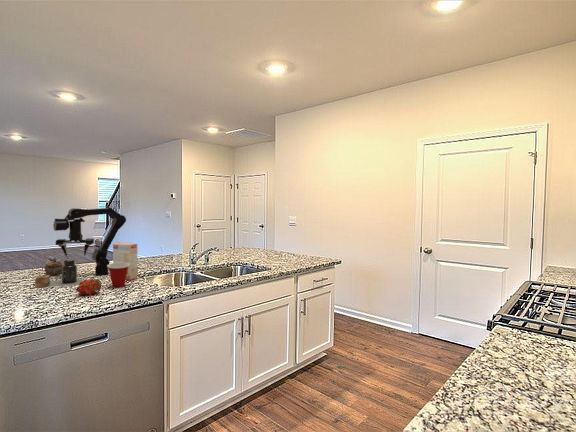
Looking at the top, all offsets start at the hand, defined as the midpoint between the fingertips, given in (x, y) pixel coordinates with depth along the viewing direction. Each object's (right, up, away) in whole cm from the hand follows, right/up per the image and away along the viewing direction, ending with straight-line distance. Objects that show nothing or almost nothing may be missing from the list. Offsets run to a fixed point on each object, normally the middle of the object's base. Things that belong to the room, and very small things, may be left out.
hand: (75, 256), depth 198 cm
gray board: (+2, -14, -16) cm, 22 cm away
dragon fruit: (+27, -15, -32) cm, 45 cm away
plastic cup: (+33, -15, -16) cm, 40 cm away
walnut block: (-3, -13, -23) cm, 26 cm away
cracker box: (+28, -14, +2) cm, 32 cm away
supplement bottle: (+6, -13, -14) cm, 20 cm away
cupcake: (-18, -13, +8) cm, 23 cm away
